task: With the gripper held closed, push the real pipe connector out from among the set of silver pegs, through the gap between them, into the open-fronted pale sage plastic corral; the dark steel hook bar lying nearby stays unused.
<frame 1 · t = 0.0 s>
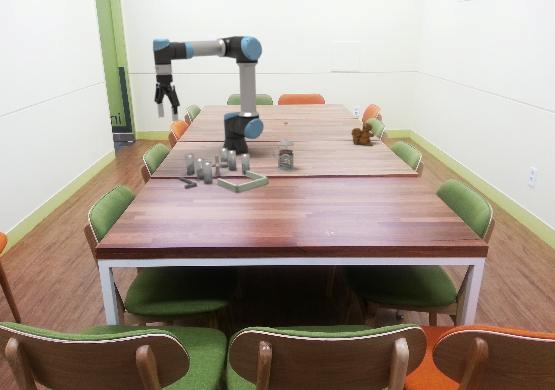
hand: (168, 119, 218), 28 cm above the table, fingers open, 13 cm apart
french press: (284, 169, 234), on the table
hook bar: (187, 183, 215), on the table
corral: (242, 183, 213), on the table
set of silver pegs: (218, 174, 226), on the table
pipe connector: (217, 174, 227), on the table
stuffed squirrel: (362, 144, 282), on the table
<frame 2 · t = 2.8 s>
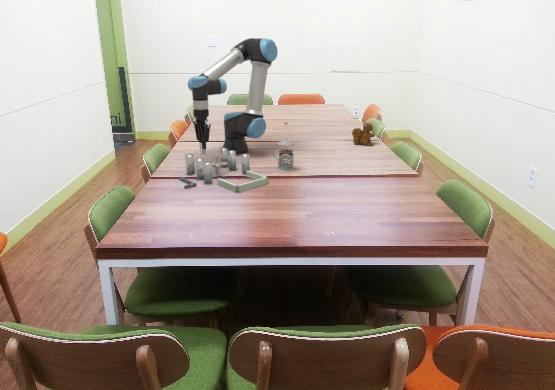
hand: (203, 154, 232), 8 cm above the table, fingers closed
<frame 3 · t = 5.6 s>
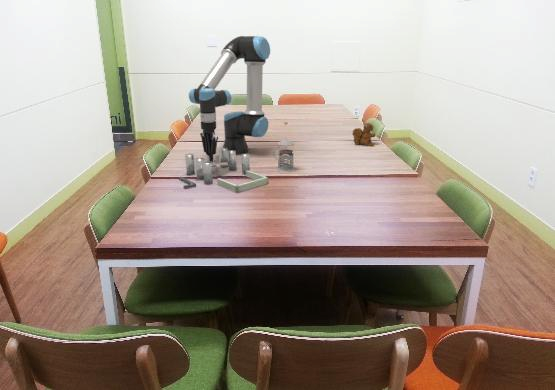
hand: (210, 166, 230), 3 cm above the table, fingers closed
pipe connector: (217, 174, 227), on the table, touching gripper
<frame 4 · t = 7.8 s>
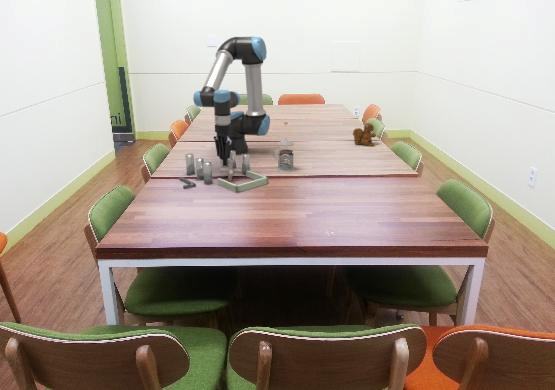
hand: (223, 171, 220), 3 cm above the table, fingers closed
pipe connector: (229, 180, 218), on the table, touching gripper
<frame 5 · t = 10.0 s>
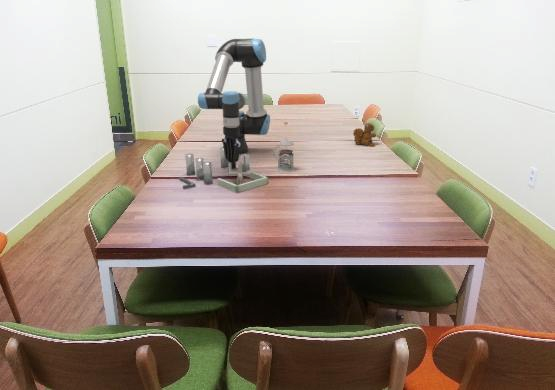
hand: (232, 174, 216), 3 cm above the table, fingers closed
pipe connector: (238, 183, 213), on the table, touching gripper
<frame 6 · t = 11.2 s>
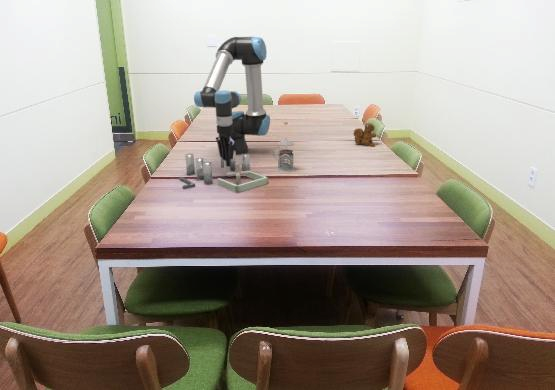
hand: (227, 172, 221), 3 cm above the table, fingers closed
pipe connector: (238, 184, 213), on the table
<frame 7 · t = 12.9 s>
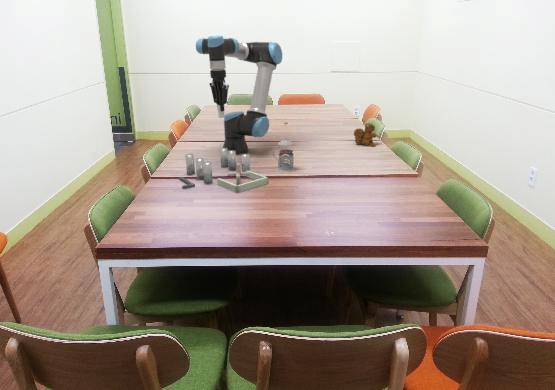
hand: (221, 117, 228), 27 cm above the table, fingers closed
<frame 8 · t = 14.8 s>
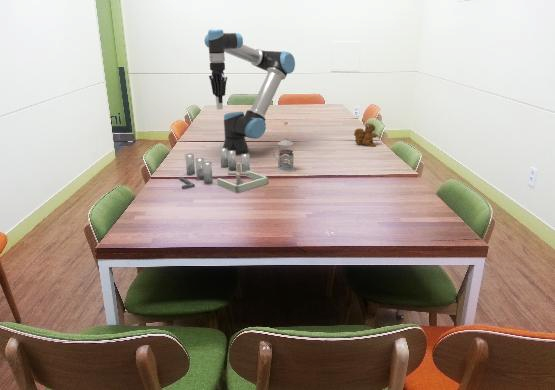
hand: (219, 109, 234), 29 cm above the table, fingers closed
at the end: pipe connector inside the target area on the corral (1.7 cm from its centre), point 0.0 cm above the corral's base; pipe connector moved 18.8 cm from its start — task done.
